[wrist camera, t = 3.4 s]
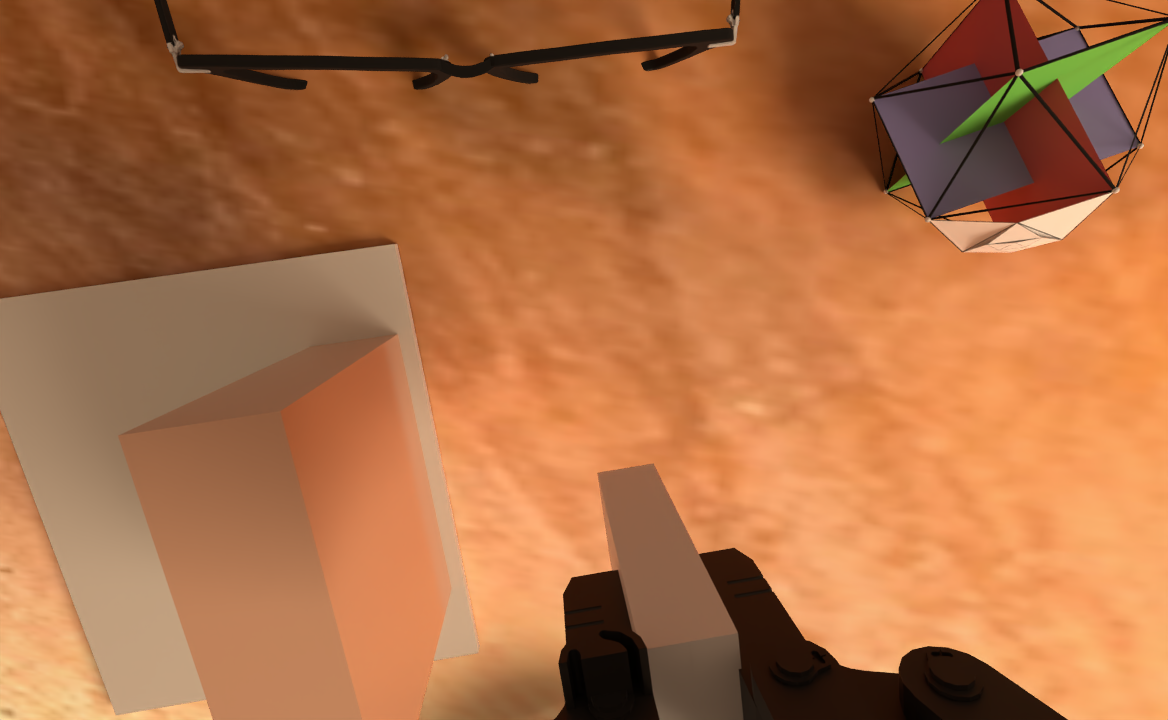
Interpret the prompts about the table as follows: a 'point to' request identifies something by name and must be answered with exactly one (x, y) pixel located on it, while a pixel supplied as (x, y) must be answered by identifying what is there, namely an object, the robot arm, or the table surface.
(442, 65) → the eyeglasses
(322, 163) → the table surface
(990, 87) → the geometric puzzle
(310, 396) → the block
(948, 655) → the robot arm
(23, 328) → the mat
